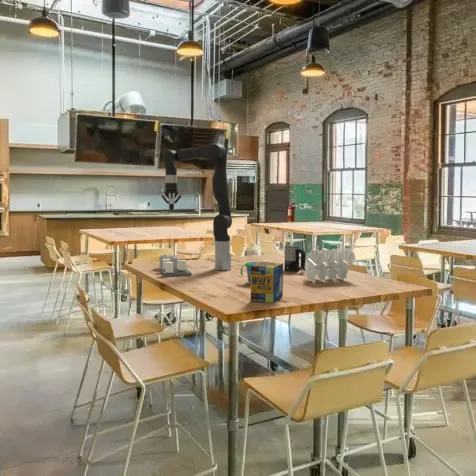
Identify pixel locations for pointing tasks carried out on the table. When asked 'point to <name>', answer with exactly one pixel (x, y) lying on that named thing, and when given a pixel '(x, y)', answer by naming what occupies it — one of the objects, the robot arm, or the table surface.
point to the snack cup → (249, 269)
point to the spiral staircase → (328, 263)
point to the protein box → (266, 282)
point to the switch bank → (177, 273)
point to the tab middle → (181, 265)
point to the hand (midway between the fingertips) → (171, 210)
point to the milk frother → (294, 258)
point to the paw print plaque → (171, 257)
